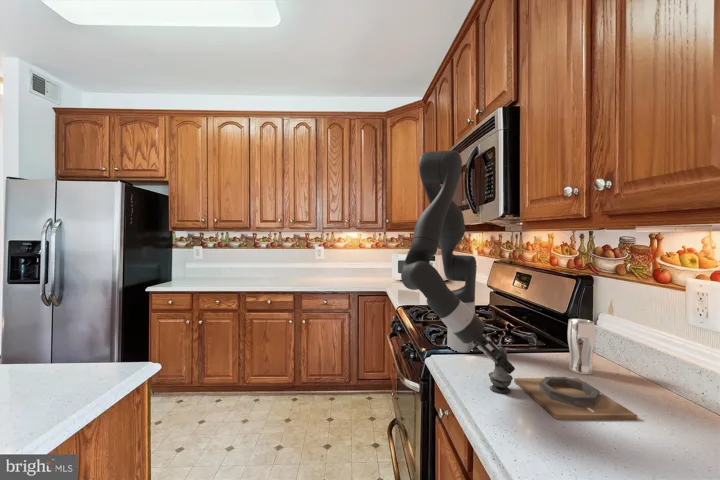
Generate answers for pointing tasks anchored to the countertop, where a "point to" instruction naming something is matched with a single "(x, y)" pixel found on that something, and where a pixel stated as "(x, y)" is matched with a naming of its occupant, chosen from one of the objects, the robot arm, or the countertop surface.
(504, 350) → the grey turned stone piece
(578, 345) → the beer glass
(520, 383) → the socket plate
